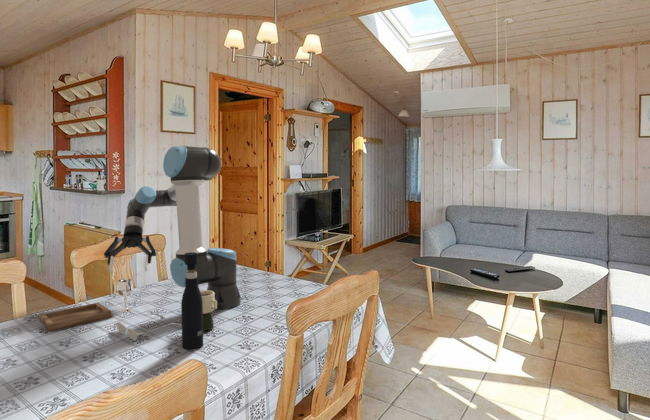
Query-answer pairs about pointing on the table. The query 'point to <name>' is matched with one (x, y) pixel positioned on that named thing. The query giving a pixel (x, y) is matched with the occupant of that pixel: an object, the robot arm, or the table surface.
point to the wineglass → (125, 291)
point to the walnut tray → (74, 316)
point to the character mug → (208, 308)
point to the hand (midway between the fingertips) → (128, 270)
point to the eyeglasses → (131, 332)
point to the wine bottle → (192, 307)
